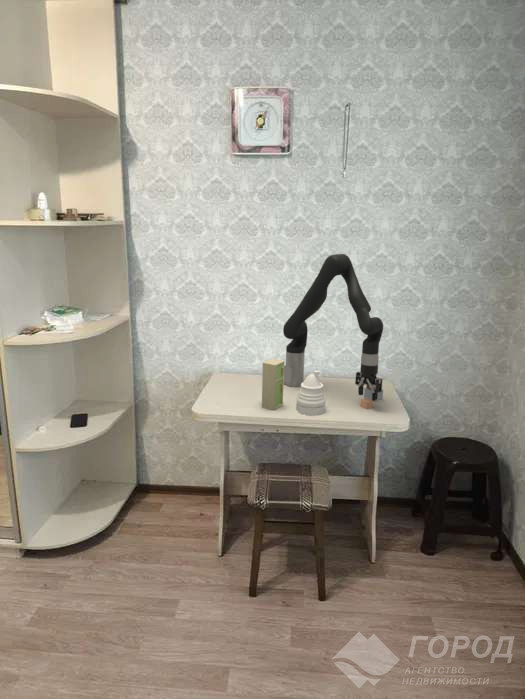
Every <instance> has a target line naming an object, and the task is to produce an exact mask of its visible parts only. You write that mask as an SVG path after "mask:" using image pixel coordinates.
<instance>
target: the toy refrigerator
mask: <svg viewBox="0 0 525 699" xmlns="http://www.w3.org/2000/svg"><path fill="white" fill-rule="evenodd" d="M284 366H285V360H282V359H277V358H269V359H268V360H265V361H263V362H262V385H261V386H262V387H261V389H262V390H261V407H262V408H264V409H268V410H272V411H275V410H277V409H278V408H281V407H282V406H283V404H284Z"/></svg>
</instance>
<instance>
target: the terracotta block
mask: <svg viewBox="0 0 525 699" xmlns="http://www.w3.org/2000/svg"><path fill="white" fill-rule="evenodd" d="M359 401H360V402H359V403H360V404H359V407H361V408H362V409H365V410H369V409H372V408H374V403H373V400H370V399H368V398H365V399H363V398H361V399H360V400H359Z"/></svg>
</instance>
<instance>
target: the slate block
mask: <svg viewBox="0 0 525 699" xmlns="http://www.w3.org/2000/svg"><path fill="white" fill-rule="evenodd" d="M372 393H373V391H372V390H369V389H367V388H366V387H364V390H363V398H368V399H370V400H372ZM382 399H383V400H384V389H383V388H382V391H381V392H378V395H377V400H375V401H373V402H374V403H377V402H376V401H378V402H381V401H380V400H382ZM383 400H382V401H383Z"/></svg>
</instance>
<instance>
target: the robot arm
mask: <svg viewBox="0 0 525 699" xmlns="http://www.w3.org/2000/svg"><path fill="white" fill-rule="evenodd" d="M337 276H341V277H342V278H343V280H344V282H345V284H346V286H347V296H348V301H349V304H350V306H351V307H352V309H353V311H354V313H355V315H356V320H357V323H358V326H359V329H360V331H361V332H362V333H363V334H364V335H365V336H366V335H367V336H366V338H364V340H363V341H362V347H361V349H362V350H361V356H360V370H359V371H356V373H355V381H354V382H355V383H354V385H356V386H357V387H358V390H357V393H358V396H364V391H365V387H364V386H365V385H368V386H370V388H371V389H372V391H373V393H372V400H373V401H375V400H377V395H378V392H381V391H382V389H383V380H382V379H383V378H380V379H378V378H379V377H378V376H377V374H378V373H379V361H380V360H379V351H380V350H379V346H380V342H381V340H382V336H383V331H384V323H383V320H382V319H381V318H380V317H378V316H373V317H371V316H370V312H371V311H372V308H371V305H370V303H369V301H368V298H366V295H365V294H364V291H363V290H362V288H361V285H360V283H359V279H358V277H357V274H356V270H355V269H354V266H353V263H352V260H351V259H350V257H349V256H348V255H347V254H345V253H337V254H332V255H329V256H327V257H326V259H325V260H324V262H323V264H322V266H321V268H320V269H319V272H318V274H317V276H316V278H315V279H314V281H313V282H312V284H311V286H310V288H308V290H307V292H306V293H305V295H304V296H303V298H302V300H301V302H300V303H299V305H298V306H297V307H296V309H295V310H294V311H293V313H292V314H291V316H290V317H289V318H288V319H287V320H286V322H285V323H284V325H283V328H282V330H283V336H284V337H285V338H286V339H288V340H291V341H290V342H289V343H288V344H286V347H285V348H286V349H285V365H284V383H283V385H286V386H288V387H290V388H291V387H293V388H294V387H296V388H298V387H301V383H303V382H304V381H305V379H304V375H305V373H304V372H305V354H306V353H305V350H306V347H307V343H308V324H307V322H306V321H307V320H308V319H310V318H311V317H312V316H313V315H314V314H316V313H317V312H318V311H319V310H320V309H321V308H322V306H323V305H324V303H325V301H326V300H327V297H328V287H329V286H330V284H331V282H332V281H333V280H334V278H335V277H337ZM377 377H378V378H377ZM373 384H374V386H372V385H373ZM374 388H375V389H374ZM378 388H379V389H378Z"/></svg>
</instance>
